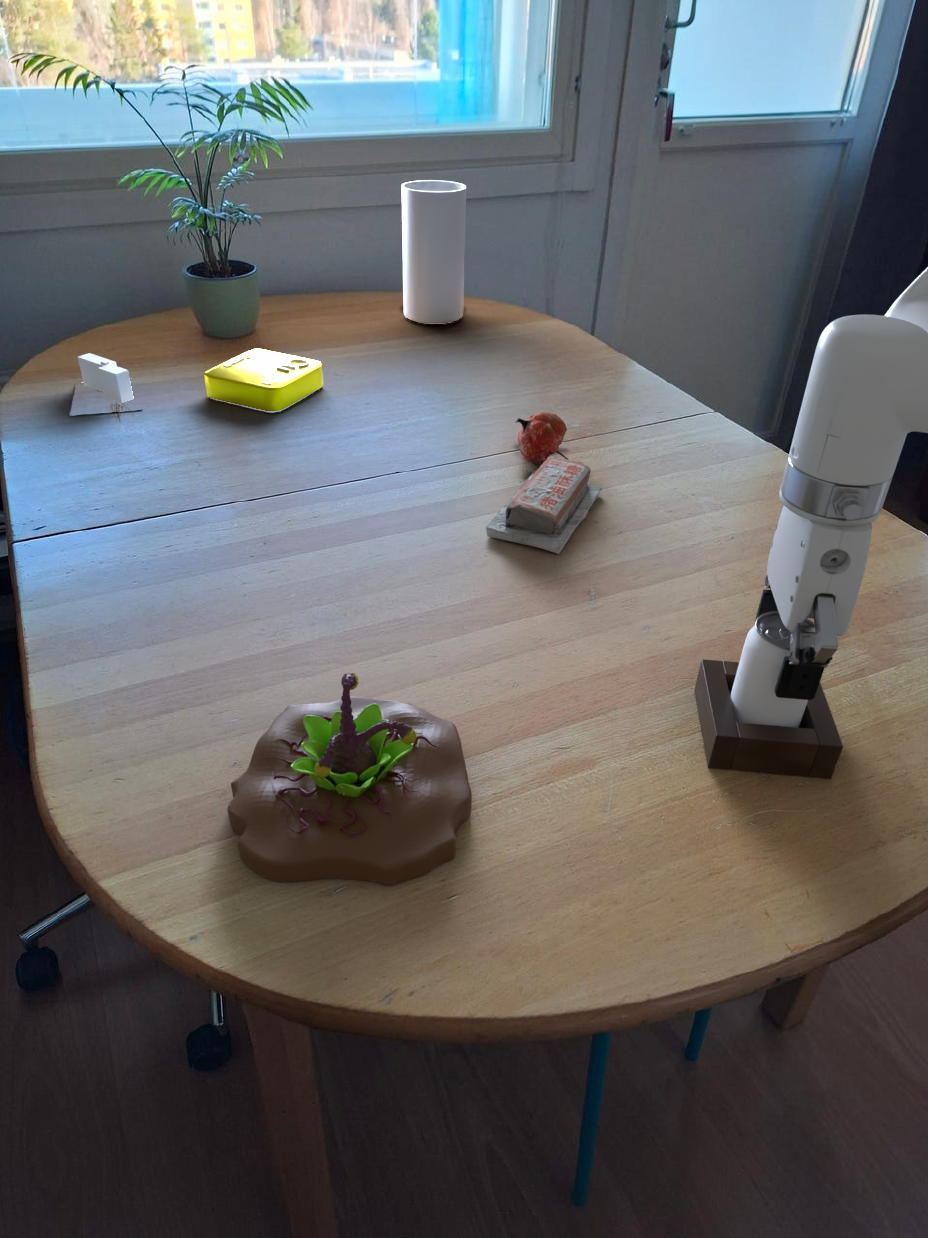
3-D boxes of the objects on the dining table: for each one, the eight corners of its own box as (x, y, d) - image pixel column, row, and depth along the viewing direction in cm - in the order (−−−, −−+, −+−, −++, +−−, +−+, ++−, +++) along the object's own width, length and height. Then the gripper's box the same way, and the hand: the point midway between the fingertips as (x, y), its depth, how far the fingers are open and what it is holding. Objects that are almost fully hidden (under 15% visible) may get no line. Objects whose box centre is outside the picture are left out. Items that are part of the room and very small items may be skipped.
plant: (474, 719, 82) (479, 623, 76) (467, 892, 67) (472, 790, 60) (264, 709, 83) (250, 613, 76) (207, 880, 67) (183, 776, 60)
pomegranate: (555, 461, 133) (505, 420, 130) (588, 431, 129) (537, 388, 126) (549, 488, 128) (497, 446, 125) (583, 457, 123) (530, 413, 120)
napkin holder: (73, 383, 148) (65, 349, 145) (143, 377, 151) (137, 344, 148) (68, 417, 137) (59, 381, 134) (144, 410, 140) (137, 375, 136)
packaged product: (536, 448, 120) (605, 462, 117) (533, 480, 123) (601, 494, 120) (485, 504, 107) (563, 521, 104) (484, 538, 110) (559, 556, 107)
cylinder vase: (433, 330, 176) (434, 194, 162) (391, 316, 183) (388, 184, 169) (475, 317, 184) (479, 186, 169) (433, 304, 191) (433, 177, 176)
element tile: (257, 370, 155) (254, 343, 153) (328, 386, 150) (326, 358, 147) (201, 398, 144) (197, 370, 142) (276, 416, 139) (273, 387, 136)
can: (711, 713, 84) (737, 611, 77) (773, 706, 85) (805, 605, 78) (740, 760, 79) (771, 656, 72) (806, 752, 80) (843, 649, 73)
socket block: (805, 699, 86) (815, 668, 84) (831, 779, 77) (843, 746, 75) (693, 690, 87) (701, 658, 84) (707, 768, 78) (716, 735, 76)
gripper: (920, 547, 60) (851, 731, 70) (854, 441, 74) (804, 607, 84) (808, 539, 60) (755, 723, 70) (763, 436, 74) (725, 602, 84)
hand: (782, 660), depth 77 cm, fingers open, 9 cm apart
